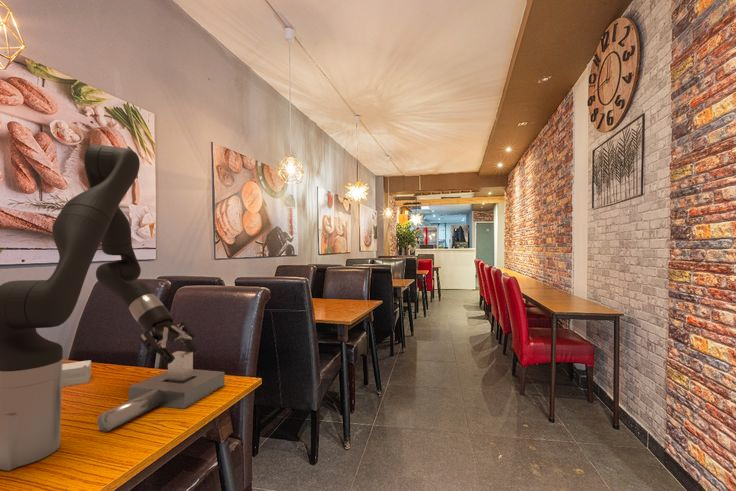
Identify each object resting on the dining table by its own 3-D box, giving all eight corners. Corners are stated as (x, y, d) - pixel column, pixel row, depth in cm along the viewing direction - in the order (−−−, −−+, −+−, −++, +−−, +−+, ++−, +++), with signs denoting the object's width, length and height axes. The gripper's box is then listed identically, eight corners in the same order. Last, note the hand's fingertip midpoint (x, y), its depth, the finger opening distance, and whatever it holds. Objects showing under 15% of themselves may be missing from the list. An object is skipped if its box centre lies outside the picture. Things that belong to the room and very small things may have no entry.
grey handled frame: (136, 436, 71) (136, 417, 71) (74, 427, 75) (74, 409, 75) (224, 385, 99) (224, 371, 99) (175, 380, 103) (175, 367, 103)
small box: (58, 381, 103) (58, 364, 104) (91, 375, 108) (91, 359, 108) (53, 389, 97) (54, 371, 97) (89, 383, 102) (89, 365, 102)
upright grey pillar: (182, 396, 91) (183, 355, 91) (167, 395, 92) (168, 354, 93) (192, 391, 94) (193, 352, 95) (177, 390, 96) (177, 351, 96)
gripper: (136, 308, 89) (172, 355, 86) (178, 301, 103) (210, 341, 100) (119, 327, 90) (154, 374, 87) (163, 318, 104) (194, 358, 101)
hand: (184, 356), depth 93 cm, fingers open, 8 cm apart
